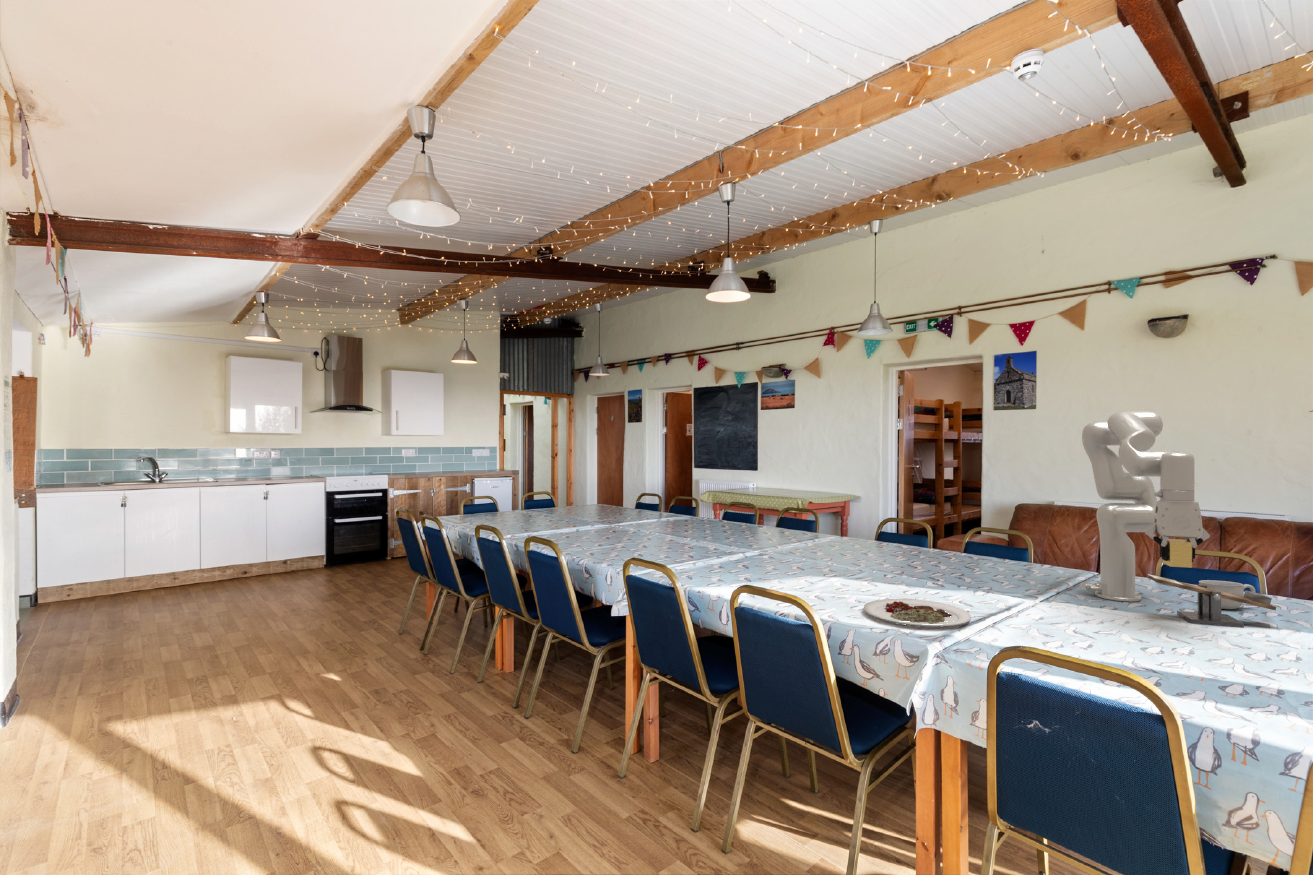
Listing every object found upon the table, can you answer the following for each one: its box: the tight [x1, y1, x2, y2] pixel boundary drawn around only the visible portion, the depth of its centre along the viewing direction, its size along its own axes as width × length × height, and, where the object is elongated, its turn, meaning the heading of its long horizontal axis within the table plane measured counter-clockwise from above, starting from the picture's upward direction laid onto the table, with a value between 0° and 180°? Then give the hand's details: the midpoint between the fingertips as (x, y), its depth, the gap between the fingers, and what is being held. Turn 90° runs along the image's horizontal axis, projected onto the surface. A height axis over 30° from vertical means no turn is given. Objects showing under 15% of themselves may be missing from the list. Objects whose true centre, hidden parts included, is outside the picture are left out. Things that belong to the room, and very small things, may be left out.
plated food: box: [863, 598, 972, 628], centre depth 194 cm, size 30×30×3 cm
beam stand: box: [1176, 584, 1245, 629], centre depth 188 cm, size 12×11×10 cm
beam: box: [1147, 573, 1277, 611], centre depth 188 cm, size 28×7×3 cm, turn 69°
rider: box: [1162, 538, 1193, 569], centre depth 182 cm, size 5×5×7 cm
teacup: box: [1198, 579, 1256, 610], centre depth 202 cm, size 14×11×8 cm
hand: (1177, 559), depth 182 cm, fingers closed on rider, 5 cm apart
